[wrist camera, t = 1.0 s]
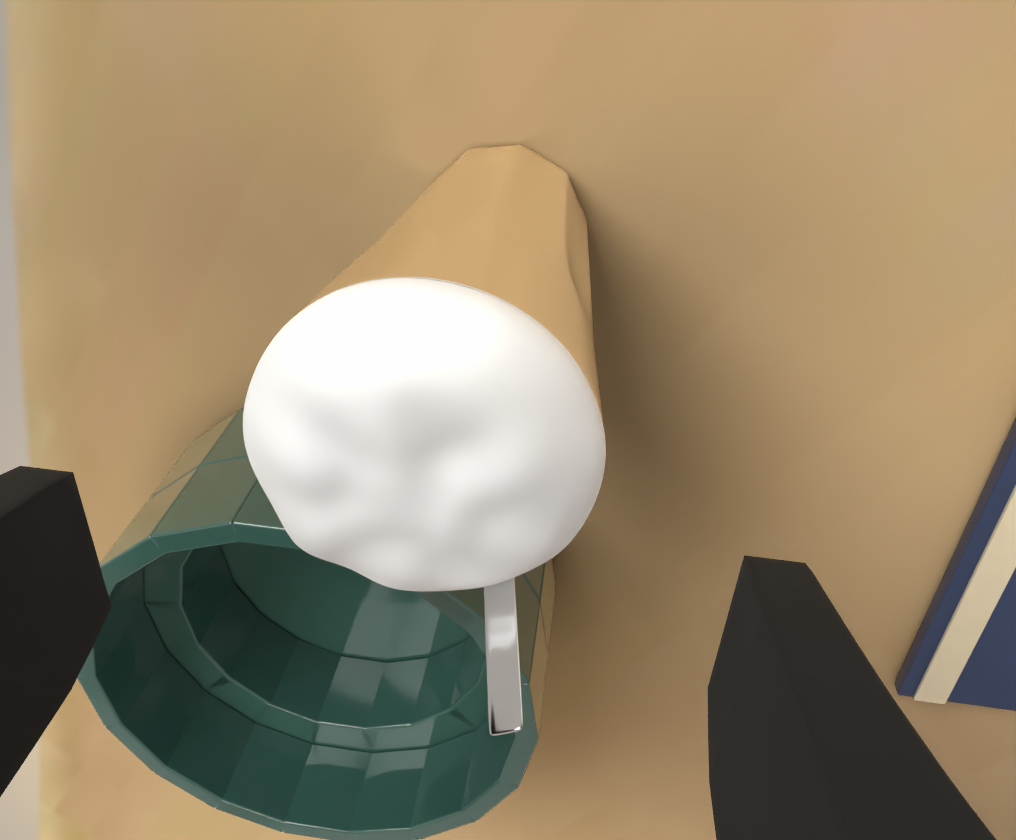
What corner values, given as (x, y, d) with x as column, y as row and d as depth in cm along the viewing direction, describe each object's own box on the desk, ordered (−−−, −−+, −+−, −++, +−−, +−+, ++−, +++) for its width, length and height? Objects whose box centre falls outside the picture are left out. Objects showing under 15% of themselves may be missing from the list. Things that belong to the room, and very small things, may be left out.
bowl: (542, 698, 25) (523, 870, 21) (205, 651, 26) (119, 808, 22) (576, 408, 20) (558, 564, 15) (143, 359, 21) (12, 494, 16)
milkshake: (471, 379, 20) (349, 764, 11) (355, 162, 17) (92, 449, 9) (663, 314, 18) (684, 702, 10) (566, 67, 16) (486, 306, 7)
